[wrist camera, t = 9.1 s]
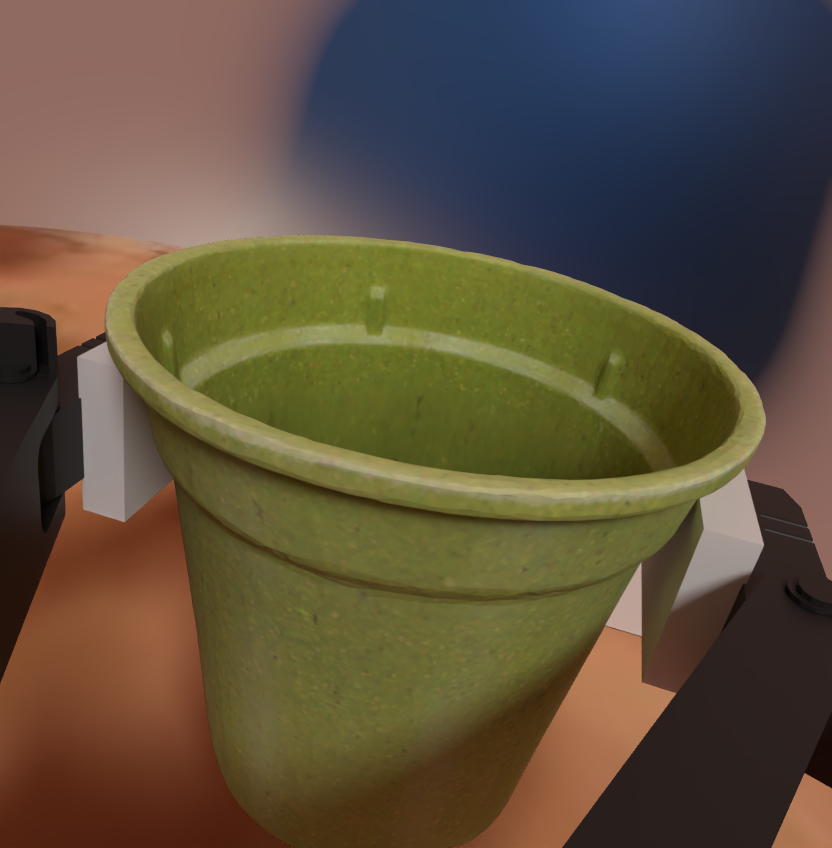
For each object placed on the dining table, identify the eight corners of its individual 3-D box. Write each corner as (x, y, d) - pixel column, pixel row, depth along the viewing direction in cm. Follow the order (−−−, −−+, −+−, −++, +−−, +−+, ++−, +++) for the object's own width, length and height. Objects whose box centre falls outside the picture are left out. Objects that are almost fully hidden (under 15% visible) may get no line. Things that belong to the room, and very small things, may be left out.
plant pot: (-15, 820, 13) (-82, 318, 9) (275, 531, 21) (308, 204, 17) (542, 1114, 10) (794, 617, 6) (622, 660, 18) (754, 318, 14)
